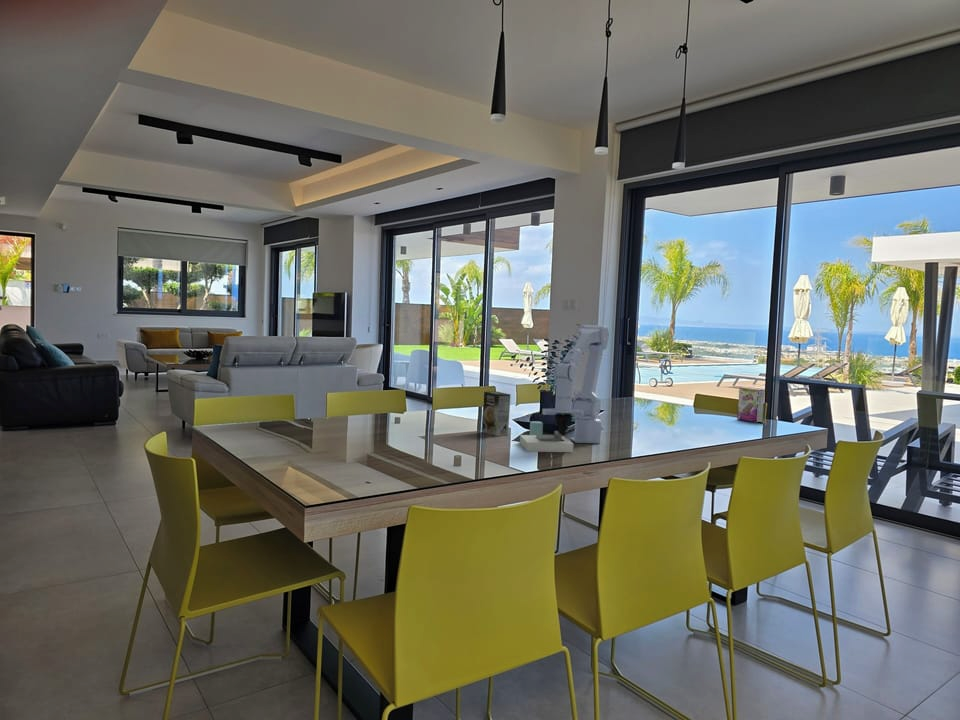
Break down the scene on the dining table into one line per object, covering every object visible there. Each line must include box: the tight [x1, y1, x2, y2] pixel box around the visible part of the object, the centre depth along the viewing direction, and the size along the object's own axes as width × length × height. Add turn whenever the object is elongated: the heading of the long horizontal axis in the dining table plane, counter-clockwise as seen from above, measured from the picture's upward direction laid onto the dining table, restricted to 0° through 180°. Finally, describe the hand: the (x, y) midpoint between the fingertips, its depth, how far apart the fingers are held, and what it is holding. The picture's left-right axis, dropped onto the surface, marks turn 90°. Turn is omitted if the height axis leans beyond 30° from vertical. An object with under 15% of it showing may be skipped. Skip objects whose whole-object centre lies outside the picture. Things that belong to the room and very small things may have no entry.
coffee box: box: [482, 390, 511, 437], centre depth 244 cm, size 9×6×16 cm
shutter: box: [536, 430, 562, 441], centre depth 221 cm, size 8×7×2 cm
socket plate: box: [519, 434, 574, 453], centre depth 221 cm, size 16×14×3 cm
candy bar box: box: [736, 386, 766, 424], centre depth 309 cm, size 11×5×16 cm, turn 30°
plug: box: [529, 420, 544, 435], centre depth 236 cm, size 4×4×6 cm
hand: (561, 435), depth 222 cm, fingers closed
